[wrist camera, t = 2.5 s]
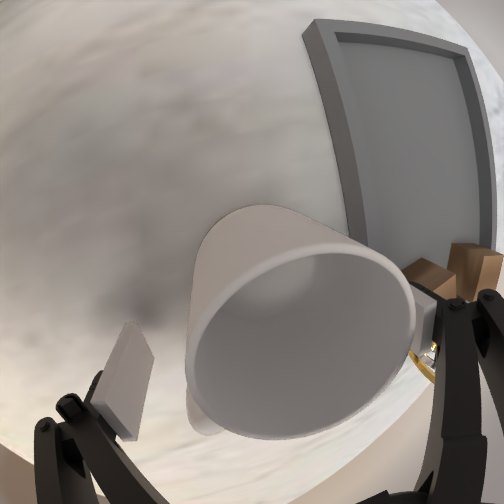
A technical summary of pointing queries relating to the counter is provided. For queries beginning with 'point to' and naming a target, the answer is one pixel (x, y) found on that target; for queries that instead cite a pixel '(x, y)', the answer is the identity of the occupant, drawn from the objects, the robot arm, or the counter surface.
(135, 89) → the counter surface
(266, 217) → the cup
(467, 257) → the block
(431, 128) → the tray
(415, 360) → the ring
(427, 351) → the robot arm
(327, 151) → the counter surface
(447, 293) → the block
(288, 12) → the counter surface
